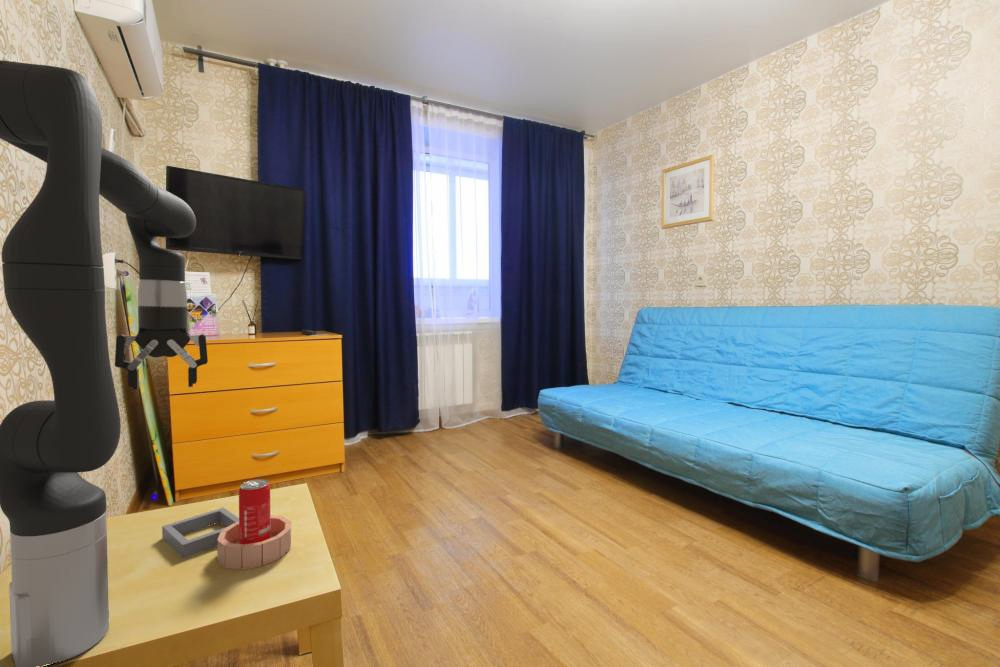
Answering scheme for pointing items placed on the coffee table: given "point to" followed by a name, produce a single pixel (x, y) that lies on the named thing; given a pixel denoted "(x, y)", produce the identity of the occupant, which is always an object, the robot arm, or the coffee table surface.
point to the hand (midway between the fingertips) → (164, 387)
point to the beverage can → (254, 511)
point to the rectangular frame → (177, 529)
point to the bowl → (254, 546)
